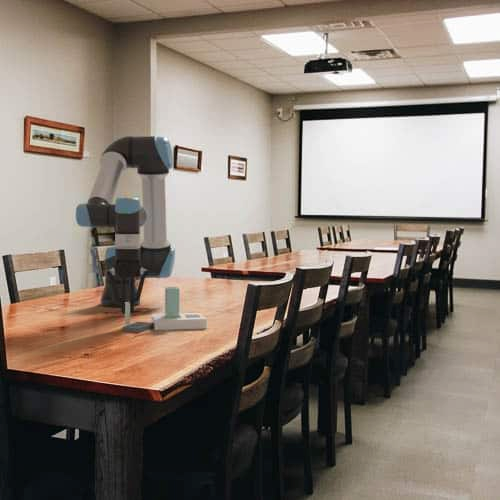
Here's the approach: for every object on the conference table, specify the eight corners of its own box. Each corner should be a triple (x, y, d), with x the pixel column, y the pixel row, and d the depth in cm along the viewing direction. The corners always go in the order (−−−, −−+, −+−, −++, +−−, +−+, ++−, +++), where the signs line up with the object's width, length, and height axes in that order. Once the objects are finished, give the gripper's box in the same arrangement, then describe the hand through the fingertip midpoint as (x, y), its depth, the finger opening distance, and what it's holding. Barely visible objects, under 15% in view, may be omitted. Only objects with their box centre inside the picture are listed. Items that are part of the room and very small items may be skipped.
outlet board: (151, 323, 211) (151, 313, 211) (200, 321, 215) (200, 312, 215) (154, 330, 199) (154, 319, 199) (206, 328, 203) (206, 318, 203)
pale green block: (165, 324, 208) (165, 286, 207) (177, 324, 209) (177, 286, 208) (166, 326, 204) (166, 287, 203) (179, 326, 205) (179, 287, 204)
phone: (137, 327, 206) (137, 321, 206) (153, 329, 204) (153, 322, 204) (122, 333, 196) (122, 326, 196) (139, 334, 195) (139, 327, 195)
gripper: (106, 248, 196) (106, 326, 197) (149, 248, 199) (149, 325, 200) (105, 247, 203) (105, 322, 204) (147, 247, 206) (147, 320, 207)
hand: (127, 323), depth 202 cm, fingers closed
